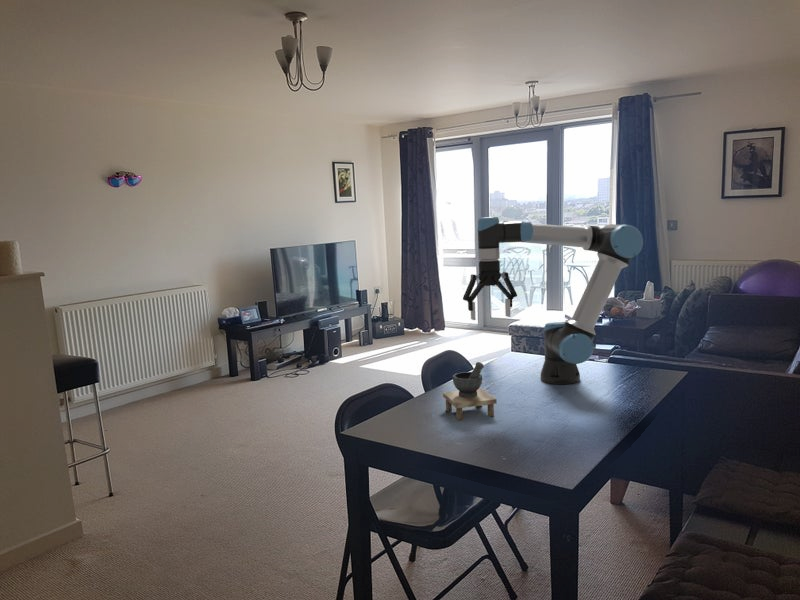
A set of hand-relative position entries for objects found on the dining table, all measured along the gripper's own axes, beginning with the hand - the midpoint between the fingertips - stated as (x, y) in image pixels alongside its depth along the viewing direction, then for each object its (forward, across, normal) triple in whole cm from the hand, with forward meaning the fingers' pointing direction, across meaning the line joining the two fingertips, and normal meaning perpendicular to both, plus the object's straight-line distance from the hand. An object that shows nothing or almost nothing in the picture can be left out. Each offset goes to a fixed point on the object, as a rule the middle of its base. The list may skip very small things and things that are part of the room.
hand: (490, 318), depth 218 cm
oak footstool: (+29, +16, +17) cm, 37 cm away
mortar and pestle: (+23, +15, +17) cm, 32 cm away
